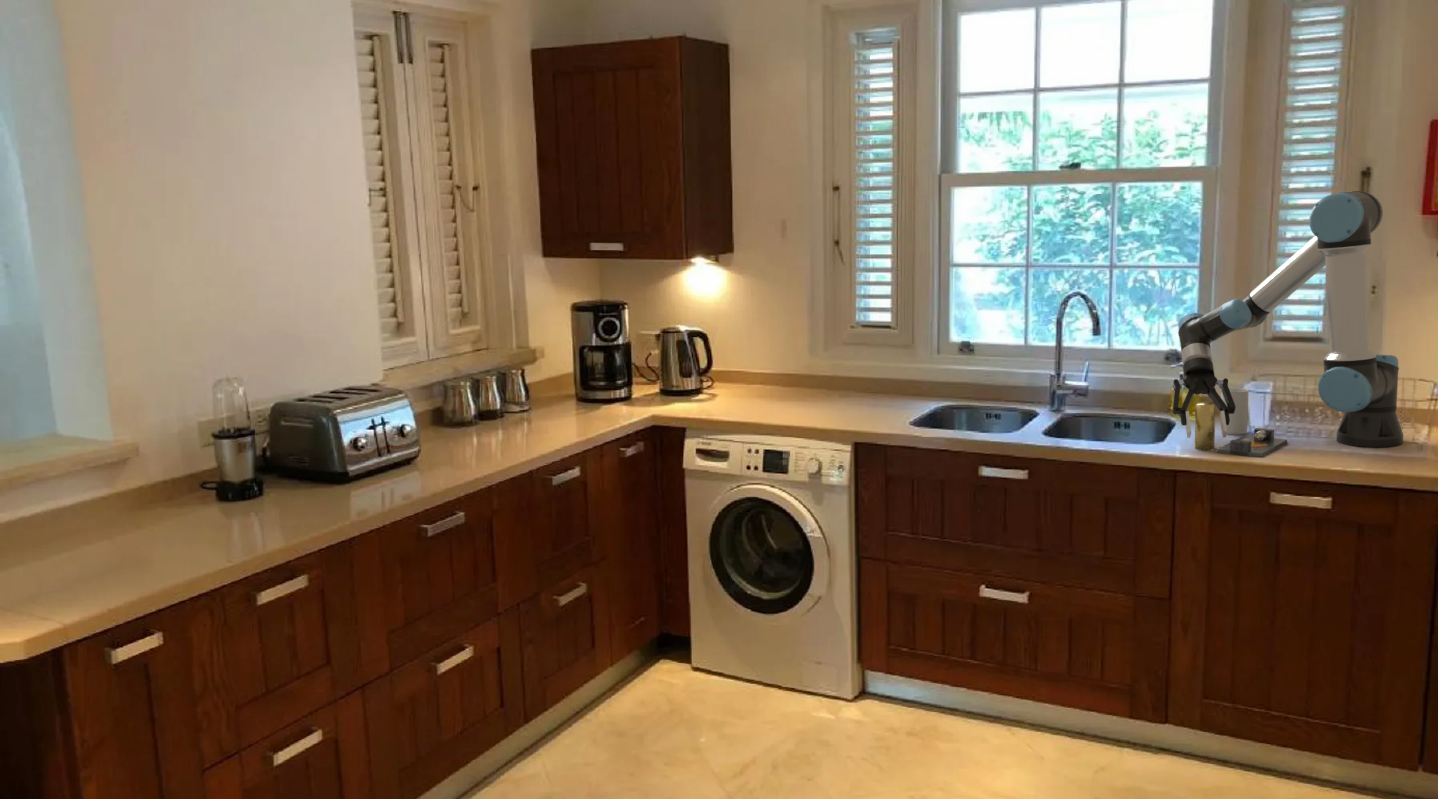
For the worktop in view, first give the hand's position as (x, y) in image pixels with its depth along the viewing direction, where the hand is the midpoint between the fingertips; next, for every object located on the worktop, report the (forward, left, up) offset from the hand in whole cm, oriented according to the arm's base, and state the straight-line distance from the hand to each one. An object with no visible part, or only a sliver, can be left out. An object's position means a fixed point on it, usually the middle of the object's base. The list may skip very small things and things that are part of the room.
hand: (1207, 434), depth 300 cm
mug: (+4, -27, -5) cm, 28 cm away
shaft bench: (-8, -9, -4) cm, 13 cm away
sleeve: (+2, -3, -4) cm, 6 cm away
